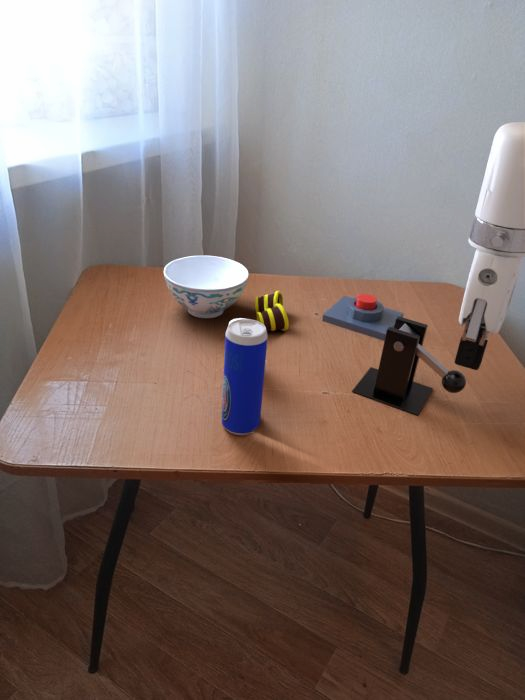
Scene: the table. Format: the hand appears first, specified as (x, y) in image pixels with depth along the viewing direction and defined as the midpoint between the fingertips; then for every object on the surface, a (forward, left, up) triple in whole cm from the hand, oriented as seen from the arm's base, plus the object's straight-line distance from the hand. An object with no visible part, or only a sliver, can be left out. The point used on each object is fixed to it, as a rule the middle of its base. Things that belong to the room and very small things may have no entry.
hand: (467, 364), depth 76 cm
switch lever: (+6, 0, -3) cm, 6 cm away
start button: (+21, -19, -5) cm, 29 cm away
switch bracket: (+9, 0, -9) cm, 13 cm away
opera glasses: (+35, -9, -9) cm, 37 cm away
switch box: (+21, -19, -9) cm, 30 cm away
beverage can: (+24, +19, -9) cm, 32 cm away
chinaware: (+47, -6, -9) cm, 48 cm away
